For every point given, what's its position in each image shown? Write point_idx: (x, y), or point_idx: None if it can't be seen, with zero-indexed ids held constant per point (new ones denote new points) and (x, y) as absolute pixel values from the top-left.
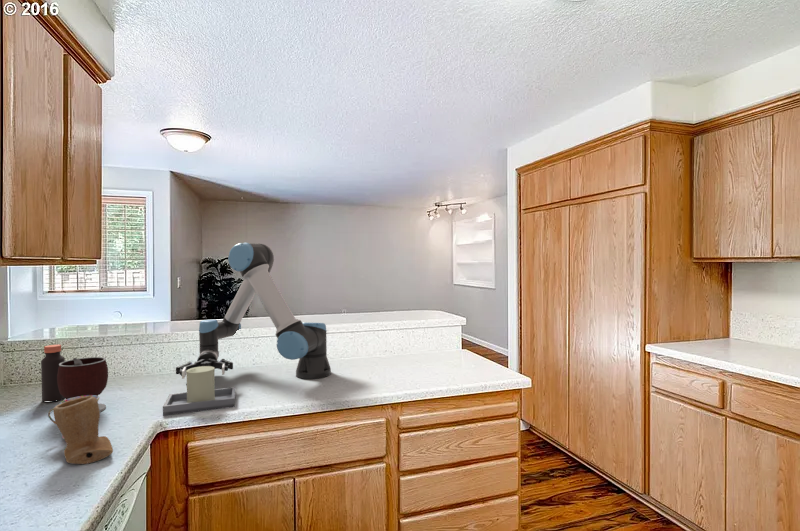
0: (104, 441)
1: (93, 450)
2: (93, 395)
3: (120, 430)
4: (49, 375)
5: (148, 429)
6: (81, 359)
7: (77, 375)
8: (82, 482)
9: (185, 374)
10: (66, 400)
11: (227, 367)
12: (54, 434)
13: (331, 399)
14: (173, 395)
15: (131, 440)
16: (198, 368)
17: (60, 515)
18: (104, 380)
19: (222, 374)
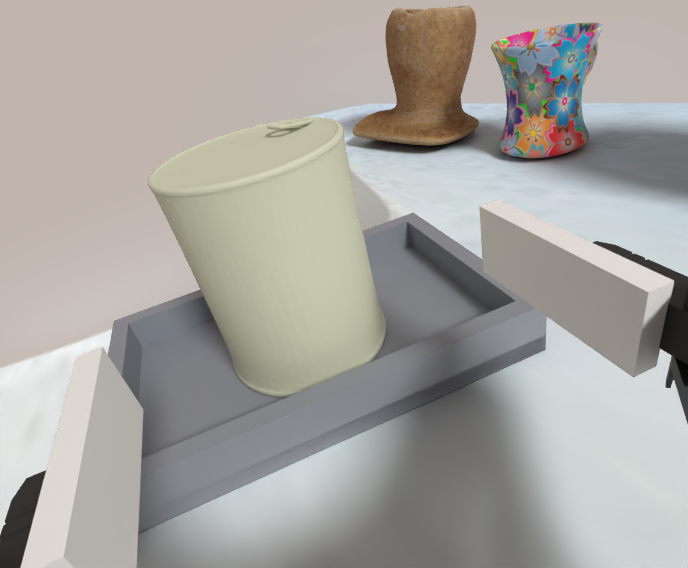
0: (392, 126)
1: (374, 113)
2: (552, 41)
3: (463, 179)
4: None
5: (382, 197)
6: None
7: None
8: (350, 127)
9: (561, 313)
10: (593, 26)
11: (26, 496)
12: (640, 134)
13: None
14: (509, 309)
15: (379, 171)
16: (273, 154)
17: (322, 116)
18: None
19: (137, 407)
